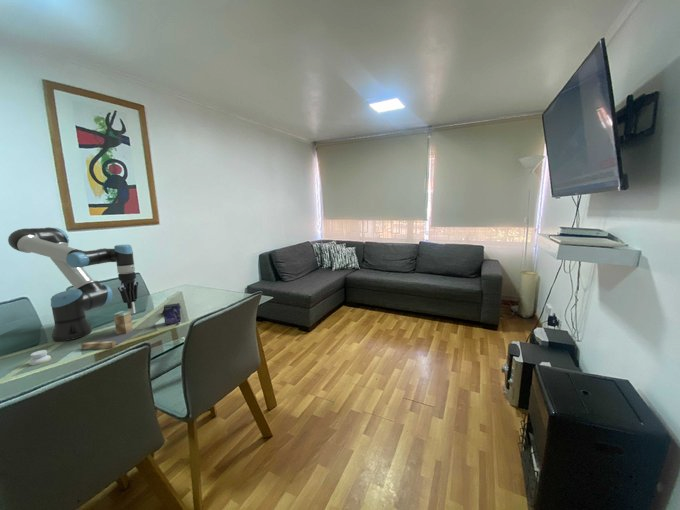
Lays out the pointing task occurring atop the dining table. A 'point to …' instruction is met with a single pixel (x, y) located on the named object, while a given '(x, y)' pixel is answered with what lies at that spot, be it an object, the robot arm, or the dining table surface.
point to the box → (172, 313)
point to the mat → (118, 336)
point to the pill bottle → (39, 357)
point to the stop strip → (98, 345)
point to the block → (123, 322)
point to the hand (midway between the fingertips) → (132, 313)
